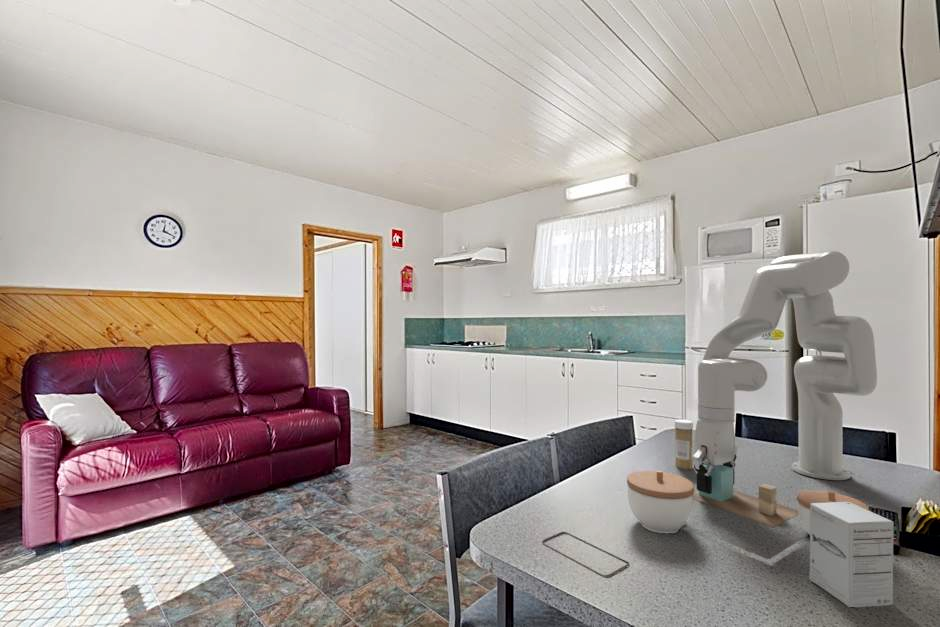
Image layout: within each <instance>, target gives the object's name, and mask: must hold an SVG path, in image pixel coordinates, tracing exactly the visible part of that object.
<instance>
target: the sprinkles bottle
mask: <svg viewBox="0 0 940 627" xmlns="http://www.w3.org/2000/svg"><path fill="white" fill-rule="evenodd" d="M674 427H675V428H674V429H675V439H674V440H675V441H674V442H675V443H674V444H675V446H674V448H675V449H674V450H675V452H674V454H675V467H676V468H679V469H681V470H692V469H693V468H694V463H693V460H692V457H693V456H694V446H693V429H694V423H693V421H692V420H688V419H676V420H674Z"/></svg>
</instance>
